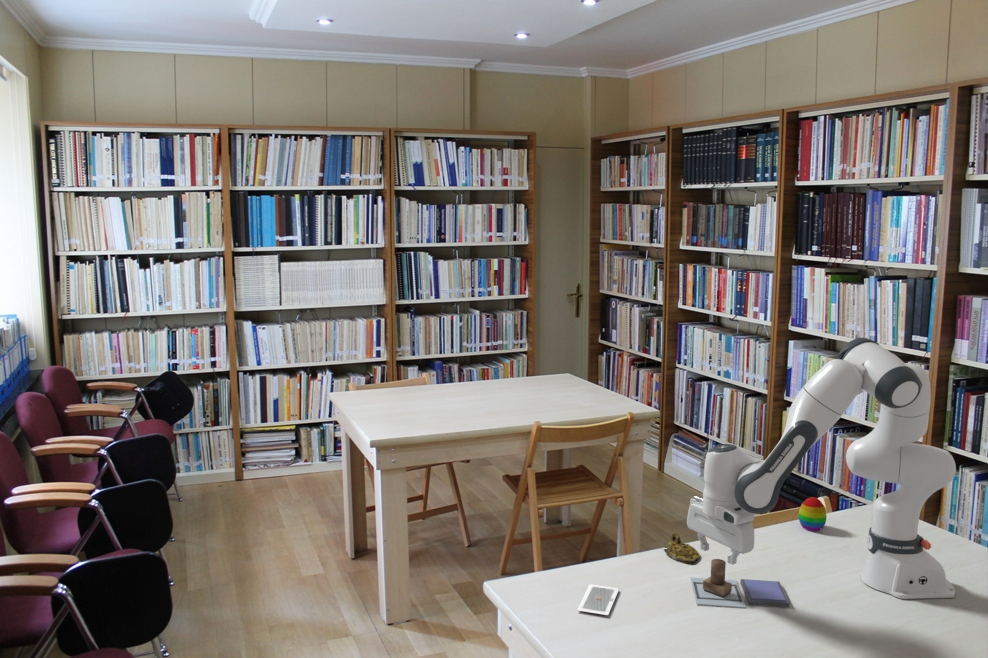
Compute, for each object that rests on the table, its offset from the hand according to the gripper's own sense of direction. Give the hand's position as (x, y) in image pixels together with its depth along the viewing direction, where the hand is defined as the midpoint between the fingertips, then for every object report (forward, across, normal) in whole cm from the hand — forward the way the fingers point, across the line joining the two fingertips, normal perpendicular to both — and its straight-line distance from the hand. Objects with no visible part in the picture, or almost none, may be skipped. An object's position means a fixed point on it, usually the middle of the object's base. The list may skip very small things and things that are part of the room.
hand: (718, 556), depth 210 cm
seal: (+10, -22, +9) cm, 26 cm away
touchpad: (+10, -11, -30) cm, 34 cm away
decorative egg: (+11, -15, +58) cm, 61 cm away
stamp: (+9, +1, -1) cm, 9 cm away
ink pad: (+10, +8, +9) cm, 15 cm away
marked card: (+10, +1, -1) cm, 10 cm away
